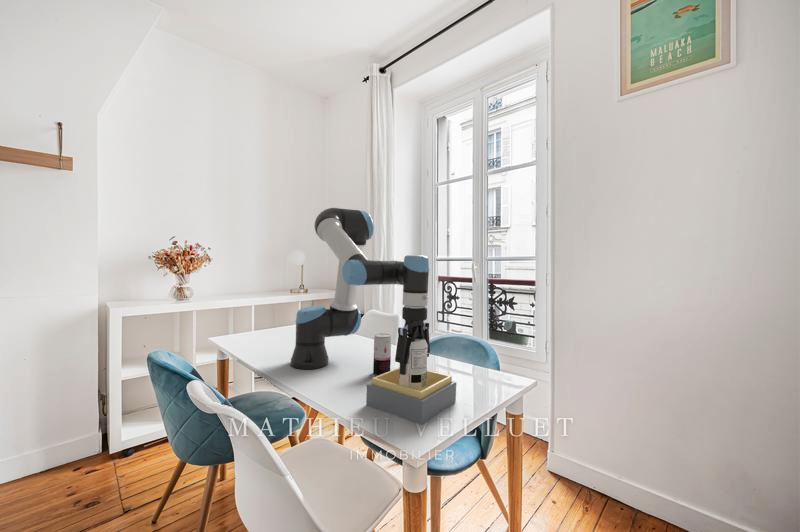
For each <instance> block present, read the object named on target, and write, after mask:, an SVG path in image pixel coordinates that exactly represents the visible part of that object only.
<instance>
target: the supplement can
mask: <svg viewBox="0 0 800 532" xmlns="http://www.w3.org/2000/svg"><path fill="white" fill-rule="evenodd" d="M409 338H410V337H409ZM427 348H428V345H427V343H426V340H425V339H424V338H423V339H417V338H415V341H414V342H411V345H410V355H409V359H408V363H409V386H405V387H408V388H411V389H415V390H418V391H422V390H424V389H425V388H426V378H427V370H428V369H427V368H428V357H427V354H428V353H427ZM399 385H401V384H400V372H399ZM401 386H404V385H401Z"/></svg>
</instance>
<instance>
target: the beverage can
mask: <svg viewBox="0 0 800 532" xmlns="http://www.w3.org/2000/svg"><path fill="white" fill-rule="evenodd" d="M391 355H392V334H389V333H381V332H379V333H375V334H374V337H373V365H372V366H373V367H372V373H373V375H374V376H375V377H376V376H379V375H381V374H384V373H386V372H389V371H391V362H392V361H391V360H392V359H391V357H392V356H391Z"/></svg>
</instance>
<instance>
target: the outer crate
mask: <svg viewBox="0 0 800 532" xmlns="http://www.w3.org/2000/svg"><path fill="white" fill-rule="evenodd" d="M365 397H366V398H365V399H366V401H365V403H366V406H368V407H371V408H373V409H377V410H379V411H383V412H385V413H386V414H387V413H388V414H390V415H394V416H396V417H399V418H400V419H401V418H402V419H404V420H408V421H409V422H412V423H416V424H417V425H424V424H425V423H427V422H428V421H430V420H431V419H432V418H434V417H435V416H437V415H438V414H440V413H442V412H443V411H444V410H446V409H447V408H448V407H450V406H452V405H454V404H455V403H456V401H457V381H456V380H455V381H453V380H452V383H450V384H449V385H447V386H445V387H443V388H441V389H440V390H438V391H436V392H434V393H433V394H431V395H429V396H427V397H426V398H424V399H422V400H421V399H417V398H414V397H411V396H408V395H404V394H401V393H398V392H395V391H391V390H388V389H385V388H382V387H378V386H375V385H372V381H371V382H369V383H366V396H365Z"/></svg>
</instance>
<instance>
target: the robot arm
mask: <svg viewBox="0 0 800 532" xmlns="http://www.w3.org/2000/svg"><path fill="white" fill-rule="evenodd" d="M374 230H375V229H374V221H373V219H372V216H371V215H370V213H369V212H368V211H365V210H364V211H363V210H360V209H349V208H340V207H329V208H325V209H324V210H322V211H321V212H319V214H318V215H317V216H316V217H315V221H314V231H315V234H316V235H317V237H319V239H320V240H321V241H323V242H324V243H326V244H327V246H328V247H329V249H331V251H332V252H333V253H334V255H335V257H336V258H337V259H338V267H337V276H336V282H335V283H336V284H335V292H334V300H332V301H331V302H330V304H329V308H326V306H324V305H313V306H306V307H303V308H300V309H299V310H298V311H296V316H295V346H294V348H293V352H292V356H291V357H290V366H291V368H295V369H299V370H315V369H320V368H323V367H327V366H328V365H329V362H330V361H329V356H328V353H327V347H326V345H325V343H326V341H325V339H326V338H331V337H341V336H345V337H346V336H349V335H354V334H355V333H357V332H358V330H359V329H360V327H361V324H362V313H361V311H360V309H359V308H358V305H357V304H356V302H355V300H356V293H357V287H358V286H371V285H372V286H373V285H375V286H376V285H378V286H379V285H381V286H382V285H398V286H399V285H400V286H402V305H403V307H402V312H401V313H402V319H403V320H404V321H405V322H404V326H402V327H398V328H397V342H396V351H395V357H394V362H397V363H399V367H400V384H401V385H404V386H409V363H408V359H409V355H410V345H411V342H414V341H415V338H417V339H423V338H424V339H425V340H426V343H427V345H428V348H427V358H429V357H430V353H431V347H430V345H431V344H430V323H429V322H425V321H426V320H427V319H428V307H427V306H428V299H429V298H428V292H429V273H430V268H429V267H430V266H429V265H430V263H429V258H428V256H427V255H411V254H410V255H405V256H404V257H403V261H401V260H400V261H399V260H371V259H369V258H368V257H367V256H365V254H364V253H363V251H362V249H363V247H365V246H366V245H367V241H369V240H370V239H372V237H373V235H374ZM409 337H410V338H409Z"/></svg>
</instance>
